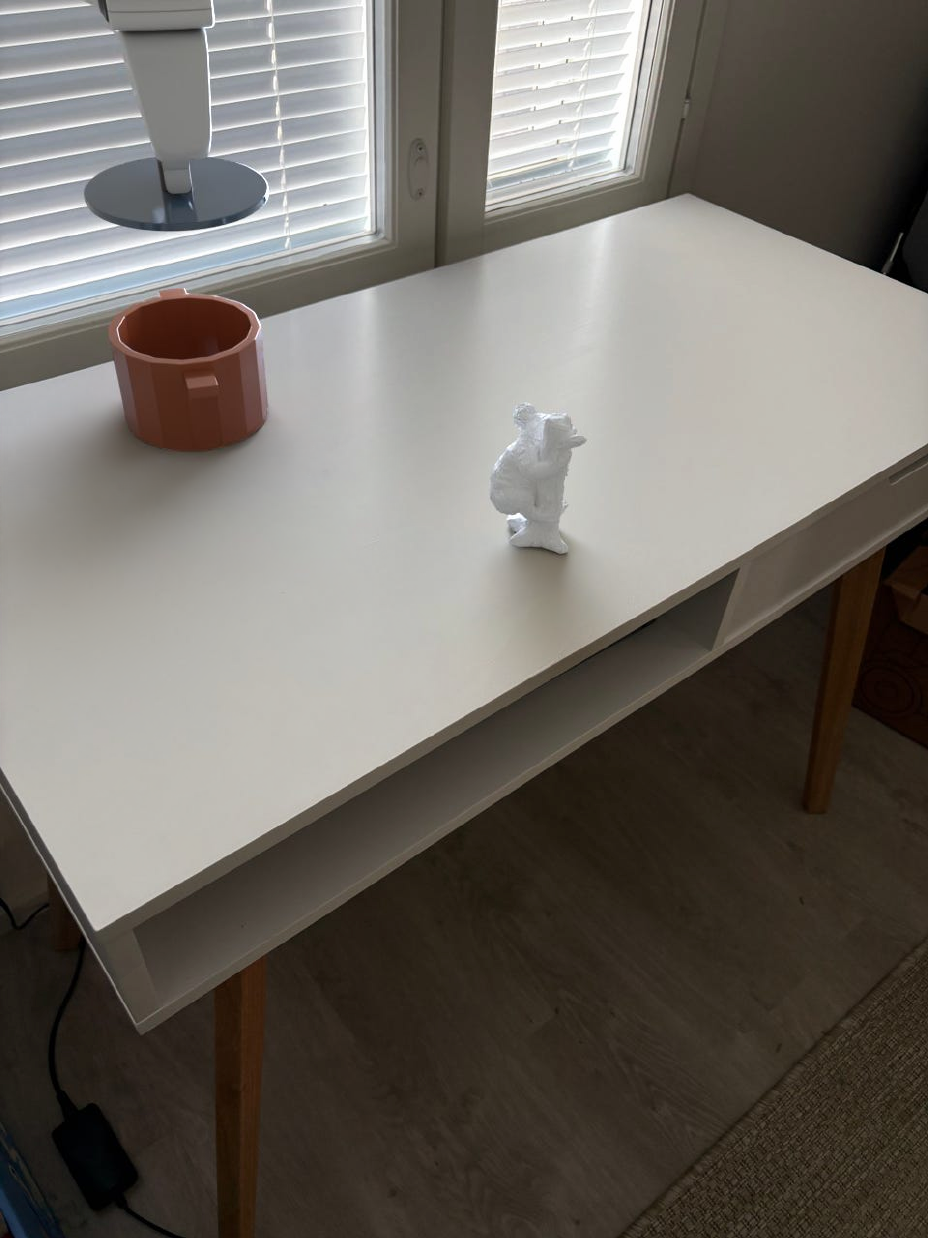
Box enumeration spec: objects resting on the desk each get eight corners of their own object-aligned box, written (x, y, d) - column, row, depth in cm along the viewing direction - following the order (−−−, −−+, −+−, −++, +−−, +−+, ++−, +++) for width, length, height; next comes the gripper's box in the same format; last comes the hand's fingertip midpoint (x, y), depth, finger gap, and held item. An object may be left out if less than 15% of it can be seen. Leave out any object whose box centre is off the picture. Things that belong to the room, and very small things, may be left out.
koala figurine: (594, 556, 80) (618, 427, 72) (518, 575, 78) (533, 443, 70) (547, 496, 86) (564, 370, 78) (474, 512, 84) (484, 383, 76)
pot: (138, 478, 85) (120, 389, 79) (115, 372, 97) (98, 288, 91) (286, 456, 88) (280, 369, 82) (247, 357, 100) (238, 274, 94)
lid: (94, 247, 71) (80, 179, 68) (80, 177, 80) (67, 114, 77) (285, 230, 75) (280, 165, 72) (251, 164, 84) (245, 104, 81)
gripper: (82, -65, 73) (118, 136, 83) (108, 7, 59) (147, 238, 69) (171, -66, 75) (196, 131, 84) (217, 3, 61) (240, 230, 71)
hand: (175, 180), depth 76 cm, fingers closed on lid, 2 cm apart
